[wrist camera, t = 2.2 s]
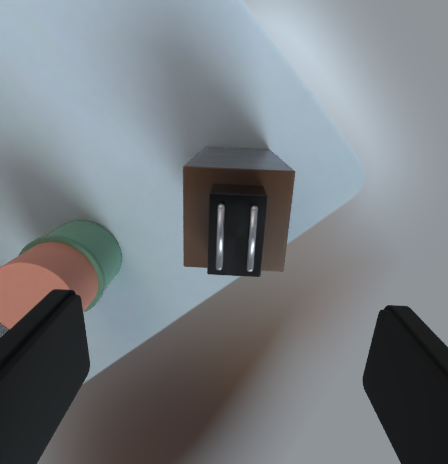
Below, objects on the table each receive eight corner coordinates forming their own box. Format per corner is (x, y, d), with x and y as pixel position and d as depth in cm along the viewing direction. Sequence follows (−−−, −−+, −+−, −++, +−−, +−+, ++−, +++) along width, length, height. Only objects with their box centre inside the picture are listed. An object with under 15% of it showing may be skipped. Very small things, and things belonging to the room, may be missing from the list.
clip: (263, 185, 19) (268, 198, 16) (257, 257, 21) (261, 281, 18) (212, 183, 19) (208, 195, 16) (210, 255, 21) (206, 278, 18)
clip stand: (270, 149, 33) (295, 171, 19) (264, 211, 35) (283, 272, 21) (205, 146, 33) (182, 166, 19) (204, 209, 36) (183, 266, 22)
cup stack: (120, 220, 36) (75, 259, 26) (126, 288, 40) (87, 347, 29) (44, 216, 37) (-31, 254, 26) (55, 284, 40) (-8, 341, 30)
